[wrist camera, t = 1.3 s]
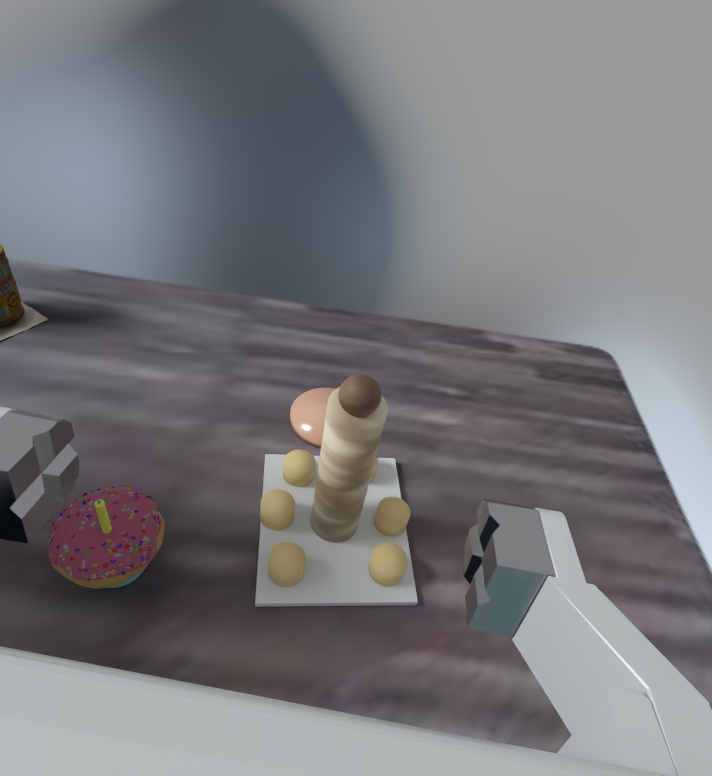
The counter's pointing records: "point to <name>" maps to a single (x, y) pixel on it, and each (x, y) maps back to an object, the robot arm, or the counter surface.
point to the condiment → (13, 304)
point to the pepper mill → (347, 456)
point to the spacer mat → (327, 559)
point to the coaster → (310, 415)
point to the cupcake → (106, 537)
